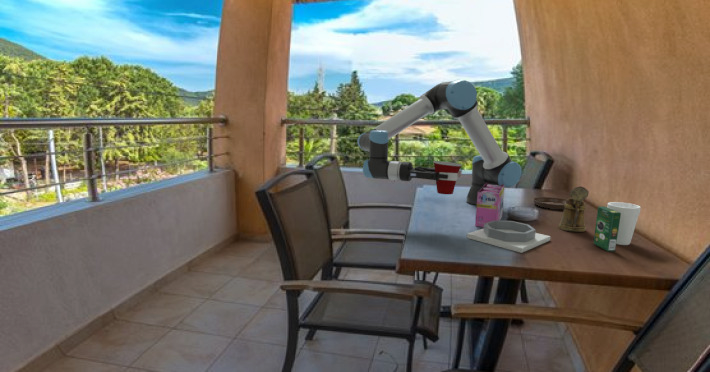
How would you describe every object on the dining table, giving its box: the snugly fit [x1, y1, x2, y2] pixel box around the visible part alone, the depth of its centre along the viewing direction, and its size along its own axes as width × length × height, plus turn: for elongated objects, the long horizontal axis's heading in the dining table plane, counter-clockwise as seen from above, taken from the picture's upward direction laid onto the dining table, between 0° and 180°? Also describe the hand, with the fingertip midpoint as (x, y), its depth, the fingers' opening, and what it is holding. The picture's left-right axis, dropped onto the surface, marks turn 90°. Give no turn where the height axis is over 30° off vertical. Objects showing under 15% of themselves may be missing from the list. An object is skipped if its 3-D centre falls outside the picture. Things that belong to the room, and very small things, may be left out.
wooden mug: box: [558, 186, 590, 233], centre depth 153 cm, size 9×14×18 cm, turn 160°
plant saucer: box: [532, 196, 567, 210], centre depth 195 cm, size 18×18×3 cm
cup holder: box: [466, 220, 551, 253], centre depth 143 cm, size 20×20×4 cm
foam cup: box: [606, 201, 642, 246], centre depth 141 cm, size 10×9×13 cm
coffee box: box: [593, 206, 621, 253], centre depth 134 cm, size 8×3×13 cm, turn 2°
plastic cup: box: [432, 160, 463, 195], centre depth 156 cm, size 11×11×12 cm
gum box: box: [474, 183, 505, 228], centre depth 167 cm, size 24×8×14 cm, turn 154°
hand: (459, 175), depth 155 cm, fingers closed on plastic cup, 8 cm apart
